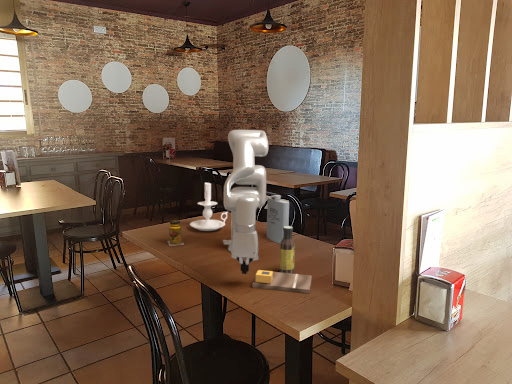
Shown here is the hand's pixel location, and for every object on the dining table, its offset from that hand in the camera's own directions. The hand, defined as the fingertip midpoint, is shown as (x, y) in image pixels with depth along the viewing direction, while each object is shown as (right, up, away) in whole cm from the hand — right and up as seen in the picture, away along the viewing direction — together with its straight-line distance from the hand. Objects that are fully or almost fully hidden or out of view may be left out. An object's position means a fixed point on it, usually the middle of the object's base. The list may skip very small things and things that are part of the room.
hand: (244, 272), depth 154 cm
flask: (+15, +6, +57) cm, 59 cm away
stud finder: (+8, -3, -1) cm, 8 cm away
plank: (+15, -4, +2) cm, 16 cm away
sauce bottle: (+18, -3, +13) cm, 22 cm away
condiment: (-37, +5, +48) cm, 61 cm away
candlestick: (-22, +10, +76) cm, 80 cm away
